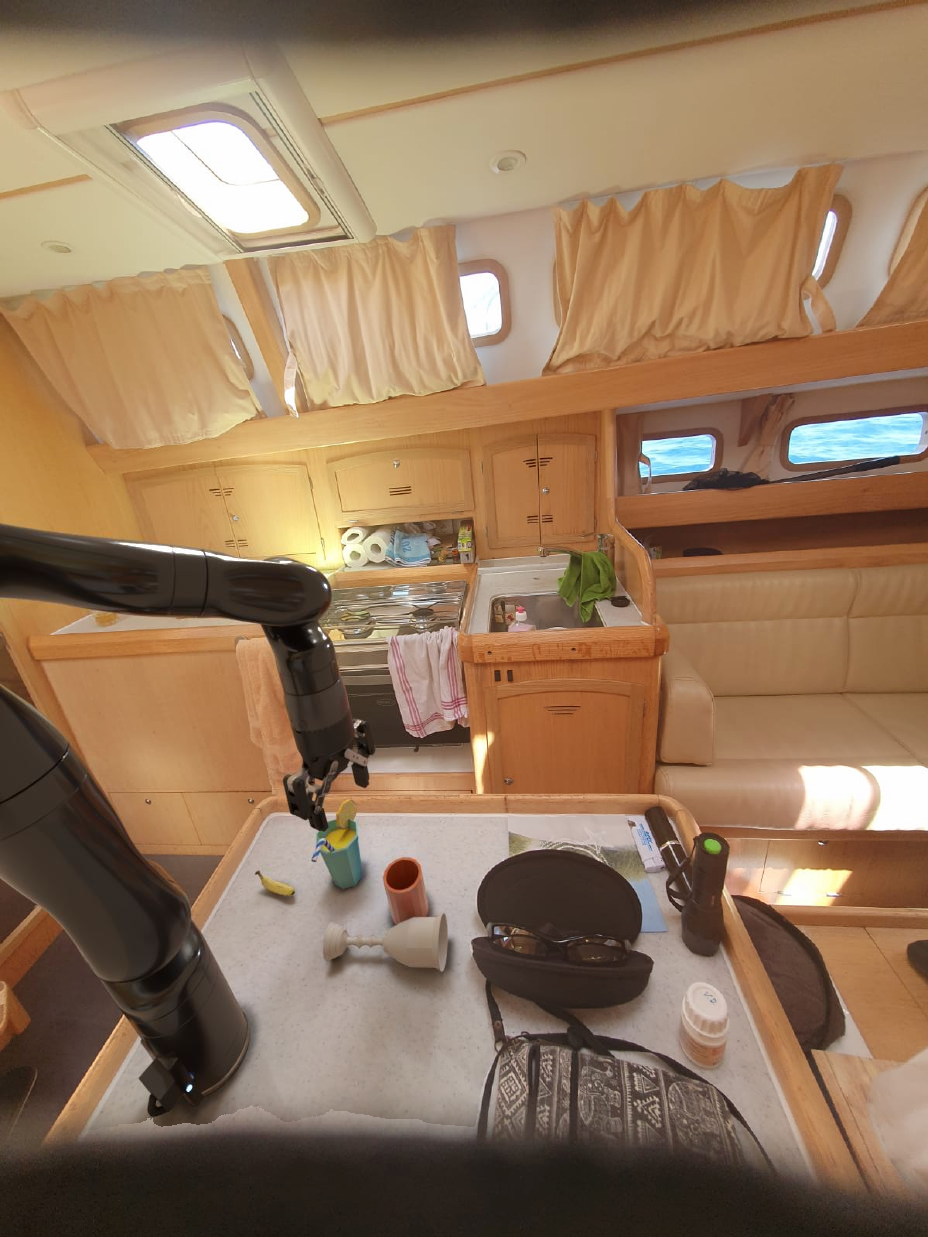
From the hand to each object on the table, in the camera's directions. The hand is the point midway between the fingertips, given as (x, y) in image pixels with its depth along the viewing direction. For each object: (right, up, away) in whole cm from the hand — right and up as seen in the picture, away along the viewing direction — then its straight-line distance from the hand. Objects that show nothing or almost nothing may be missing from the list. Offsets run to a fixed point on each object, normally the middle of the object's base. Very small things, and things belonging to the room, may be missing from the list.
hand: (343, 805), depth 64 cm
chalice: (-4, -24, +6) cm, 25 cm away
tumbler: (+8, -23, +12) cm, 27 cm away
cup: (-4, -21, +18) cm, 28 cm away
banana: (-16, -23, +17) cm, 33 cm away
